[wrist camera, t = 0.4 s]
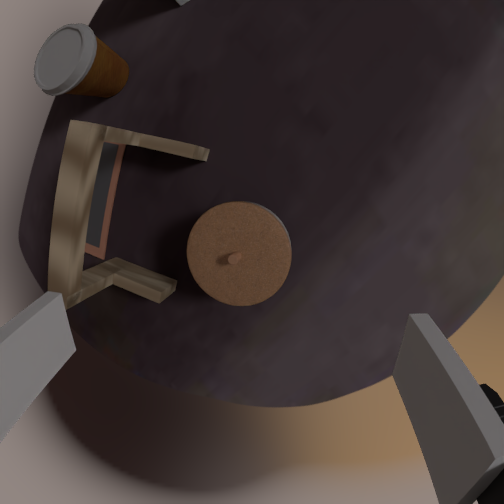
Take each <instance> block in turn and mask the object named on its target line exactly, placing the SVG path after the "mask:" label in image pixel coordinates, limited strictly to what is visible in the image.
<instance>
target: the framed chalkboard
mask: <svg viewBox="0 0 504 504" xmlns="http://www.w3.org/2000/svg"><path fill="white" fill-rule="evenodd" d="M125 147H126V144H121V143H115V142H108V141H104V143H103V147H102V152H101V156H100V161H99V165H98V170H97V175H96V180H95V185H94V190H93V196H92V202H91V208H90V214H89V220H88V227H87V235H86V242H85V251H84V252H86V253H89V254H91V255H93V256H96V257H98V258H101V259H103V260H104V259H105V251H106V244H107V238H108V231H109V225H110V219H111V213H112V208H113V202H114V197H115V192H116V187H117V182H118V178H119V173H120V169H121V164H122V160H123V156H124V151H125Z"/></svg>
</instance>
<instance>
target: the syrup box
mask: <svg viewBox="0 0 504 504" xmlns="http://www.w3.org/2000/svg"><path fill="white" fill-rule="evenodd" d="M175 1H176V2H177V3H178V4H179V5H180V6H182V5H183V4H185V3H187V2H188V1H190V0H175Z"/></svg>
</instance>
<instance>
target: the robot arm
mask: <svg viewBox="0 0 504 504" xmlns="http://www.w3.org/2000/svg"><path fill="white" fill-rule="evenodd" d="M75 351H76V348H75V345H74V341H73V337H72V334H71V330H70V326H69V322H68V319H67V314H66V310H65V306H64V302H63V297H62V293H57V292H50V291H48V292H46V293H45V294H44V295H42V296H41V297H40V298H39V299H37V300H36V301H34V302H33V303H32V304H31V305H29V306H28V307H27V308H25V309H24V310H23V311H22V312H20V313H19V314H18V315H16V316H15V317H14V318H12V319H11V320H10V321H9V322H7V323H6V324H5V325H4V326H2V327H1V328H0V442H1V441H2V440H3V439H4V437H5V436H6V435H7V433H8V432H9V431H10V429H11V428H12V427H13V426H14V424H15V423H16V422H17V420H18V419H19V418H20V417H21V415H22V414H23V413H24V412H25V410H26V409H27V408H28V406H29V405H30V404H31V403H32V402H33V401H34V399H35V398H36V397H37V396H38V394H39V393H40V392H41V391H42V389H43V388H44V387H45V386H46V384H48V382H49V381H50V380H51V379H52V378H53V376H54V375H55V374H56V373H57V372H58V370H59V369H60V368H61V367H62V366H63V365H64V363H65V362H66V361H67V360H68V359H69V358H70V357H71V355H72V354H73V353H74V352H75ZM392 376H393V378H394V380H395V383H396V385H397V387H398V390H399V393H400V395H401V397H402V400H403V402H404V405H405V407H406V410H407V413H408V415H409V418H410V420H411V423H412V425H413V428H414V431H415V434H416V436H417V439H418V442H419V445H420V447H421V450H422V453H423V456H424V459H425V461H426V464H427V467H428V470H429V473H430V476H431V479H432V482H433V485H434V488H435V491H436V495H437V498H438V501H439V504H473V502H475V501H476V500H477V501H478V504H504V402H503V401H502V399H501V398H500V397H499V395H498V393H497V392H495V391H494V390H493V389H491V388H490V387H489V386H488V385H486V384H481V385H479V384H478V383H477V381H476V380H475V378H474V377H473V376H472V374H471V373H470V371H469V370H468V368H467V367H466V365H465V364H464V363H463V361H462V360H461V358H460V357H459V355H458V354H457V353H456V351H455V350H454V348H453V347H452V346H451V344H450V343H449V342H448V340H447V339H446V337H445V336H444V335H443V333H442V332H441V331H440V329H439V328H438V327H437V325H436V324H435V323H434V321H433V320H432V319H431V318H430V316H429V315H428V314H409V317H408V321H407V325H406V329H405V333H404V336H403V340H402V343H401V347H400V350H399V354H398V357H397V361H396V364H395V367H394V370H393V373H392Z"/></svg>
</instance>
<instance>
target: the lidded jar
mask: <svg viewBox="0 0 504 504" xmlns="http://www.w3.org/2000/svg"><path fill="white" fill-rule="evenodd" d="M187 260H188V265H189V268H190V271H191V273H192V275H193V277H194V279H195V281H196V282H197V284H198V285H199V286H200V287H201V288H202V289H203V290H204V291H205V292H206V293H207V294H208V295H210V296H211V297H212V298H214V299H216V300H218V301H220V302H223V303H225V304H229V305H233V306H249V305H254V304H257V303H260V302H262V301H265V300H266V299H268V298H270V297H271V296H272V295H273V294H275V293H276V292H277V291H278V290H279V288H280V287H281V286H282V285H283V283H284V281H285V280H286V277H287V275H288V272H289V269H290V264H291V243H290V238H289V235H288V232H287V230H286V228H285V226H284V224H283V223H282V221H281V220H280V219H279V218H278V217H277V216H276V215H275V214H274V213H273V212H272V211H270V210H269V209H267V208H265V207H263V206H261V205H259V204H256V203H251V202H243V201H233V202H226V203H223V204H220V205H217V206H215V207H213V208H211V209H209V210H208V211H206V212H205V213H204V214H203V215H202V216H201V217H200V218H199V219H198V220H197V221H196V223H195V224H194V226H193V228H192V230H191V232H190V235H189V238H188V242H187Z"/></svg>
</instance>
